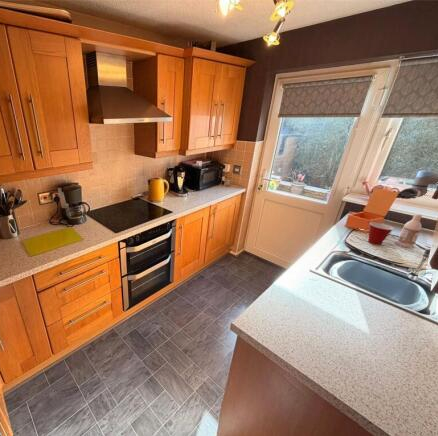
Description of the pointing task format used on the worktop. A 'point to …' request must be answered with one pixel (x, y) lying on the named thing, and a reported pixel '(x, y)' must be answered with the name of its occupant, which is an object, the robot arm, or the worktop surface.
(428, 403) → the worktop surface
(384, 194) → the lid
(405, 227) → the bath foam
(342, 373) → the worktop surface
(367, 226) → the box
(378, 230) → the plastic cup
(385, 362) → the worktop surface
